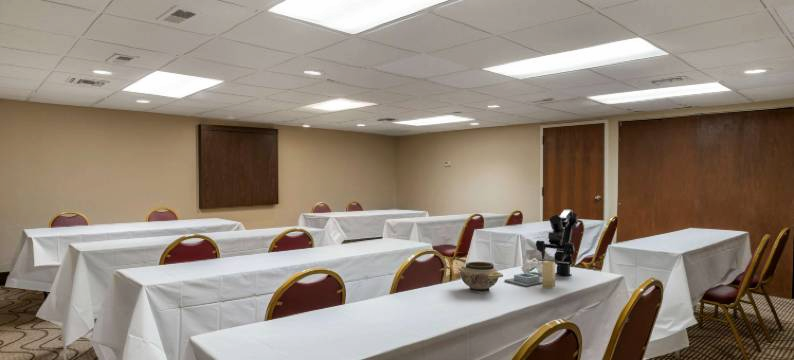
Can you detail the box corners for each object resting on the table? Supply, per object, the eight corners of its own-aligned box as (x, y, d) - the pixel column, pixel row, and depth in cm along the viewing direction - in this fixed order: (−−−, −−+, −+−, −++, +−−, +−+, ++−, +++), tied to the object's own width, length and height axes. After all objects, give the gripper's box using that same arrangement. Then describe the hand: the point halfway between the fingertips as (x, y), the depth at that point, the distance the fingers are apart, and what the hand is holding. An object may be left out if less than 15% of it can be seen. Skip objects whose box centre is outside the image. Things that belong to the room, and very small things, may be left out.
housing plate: (527, 277, 248) (527, 271, 248) (548, 282, 236) (548, 275, 236) (504, 281, 238) (504, 274, 238) (525, 287, 226) (525, 280, 226)
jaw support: (549, 267, 260) (545, 257, 254) (546, 280, 255) (542, 271, 249) (528, 265, 266) (524, 255, 260) (525, 278, 261) (521, 268, 255)
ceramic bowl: (508, 299, 214) (513, 267, 217) (485, 295, 203) (491, 262, 206) (468, 289, 233) (473, 260, 235) (445, 285, 222) (451, 255, 224)
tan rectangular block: (544, 285, 231) (545, 260, 230) (555, 286, 228) (555, 261, 228) (542, 287, 226) (542, 262, 226) (552, 288, 224) (552, 263, 224)
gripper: (536, 225, 241) (530, 248, 232) (573, 227, 231) (568, 252, 222) (540, 238, 248) (534, 261, 239) (576, 241, 238) (572, 265, 229)
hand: (552, 260), depth 232 cm, fingers open, 9 cm apart
